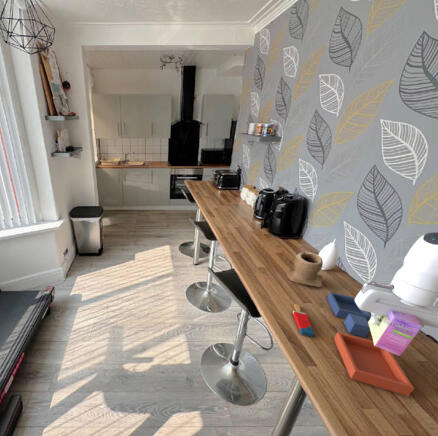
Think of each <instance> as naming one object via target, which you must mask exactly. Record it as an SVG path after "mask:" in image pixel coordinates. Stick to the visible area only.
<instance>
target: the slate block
mask: <svg viewBox="0 0 438 436" xmlns="http://www.w3.org/2000/svg"><path fill="white" fill-rule="evenodd" d="M343 324H344V326H345V328H346V330H347V332H348V334H349V335H353V336H357V337H361V338H364V339H367V337H368V334H369V333H370V332H371V331H370V327H369V324H368V321H367V320H366V318H365V317H362V316H358V315H354V314H350V313H349V314H348V316H347V318H346V319H344V322H343Z"/></svg>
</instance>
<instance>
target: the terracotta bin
mask: <svg viewBox="0 0 438 436" xmlns="http://www.w3.org/2000/svg"><path fill="white" fill-rule="evenodd" d="M333 340H334V343H335V345H336V348H337V351H338V352H339V355H340V357H341V359H342V362H343V364H344V366H345V368H346V371H347V373H348V375H349V378H350V379H351V380H354V381H357V382H360V383H364V384H367V385H371V386H373V387H377V388H381V389H383V390H386V391H390V392H393V393H395V394H396V393H397V394H400V395H403V396H406V397H409V396H410V394H411V393H413V391H414V390H415V387H414V385H413V384H412V382H411V380H409V378H408V376H407V375H406V373H405V372H404V370H403V368H402V367H401V366H400V364H399V362H398V361H397V359H396V357H395V356H394V354H393V353H390V352H388V351H385V350H383V349H380V348H378V347H376V346H374V342H373V340H371V339H367V338H364V337H360V336H356V335H353V334H349V333H348V334H347V333H344V332H340V331H337V332H336V334H335V336H334V337H333Z"/></svg>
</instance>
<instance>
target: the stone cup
mask: <svg viewBox="0 0 438 436" xmlns="http://www.w3.org/2000/svg"><path fill="white" fill-rule="evenodd" d="M293 265H294V269H288V270H287V271H286V276H287V278H288V279H289V280H290V281H291V282H294V283H297V284H302V285H307V286H311V287H318V288H322V286H323V280H324V276H323V275H322V274H318V273H320V271H322V269H321V268H322V266H323V260H322V258H321V257H320V256H319V254H317V253H315V252H310V251H309V252H308V251H302V252H299V253H297V255H296V256H295V258H294V264H293Z"/></svg>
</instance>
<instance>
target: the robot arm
mask: <svg viewBox="0 0 438 436" xmlns="http://www.w3.org/2000/svg"><path fill="white" fill-rule="evenodd" d="M354 298H355V303H356V305H357V306H358V307H359V309H360V310H363V311H367V312H369V313H370V315H371V316H372V318H371V319H370V322H371V323H372V324H373V325H377V326H379V325H380V323H381V321H380V320H379V318H378V317H380V315H384V316H388V314H389V313H390V311H397V312H402V313H406V314H410V315H414V316H417V317H418V319H419V321H420V323H421V325H422V328H424V327H425V326H427V327H431V328H436V329H438V232H437V231H436V232H435V231H434V232H426V233H424V234H423V235H421V236H420V237H419V238H418V239H417V240H416V241H415V242H414V243H413V244H412V246H411V247H410V248H409V250H408V252H407V253H406V255H405V257H404V259H403V263H402V266H401V267H400V268H399V269H398V270H397V271H396V272H395V274H394V276H393V278H392V279H391V281H390V283H389V284H388V283H383V282H377V281H371V282H365V283H364V284H363V286H362V287H361V289H360V291H359V292H358V293H357V294H356V295H355V296H354ZM377 316H378V317H377ZM422 328H421V329H422Z"/></svg>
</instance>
